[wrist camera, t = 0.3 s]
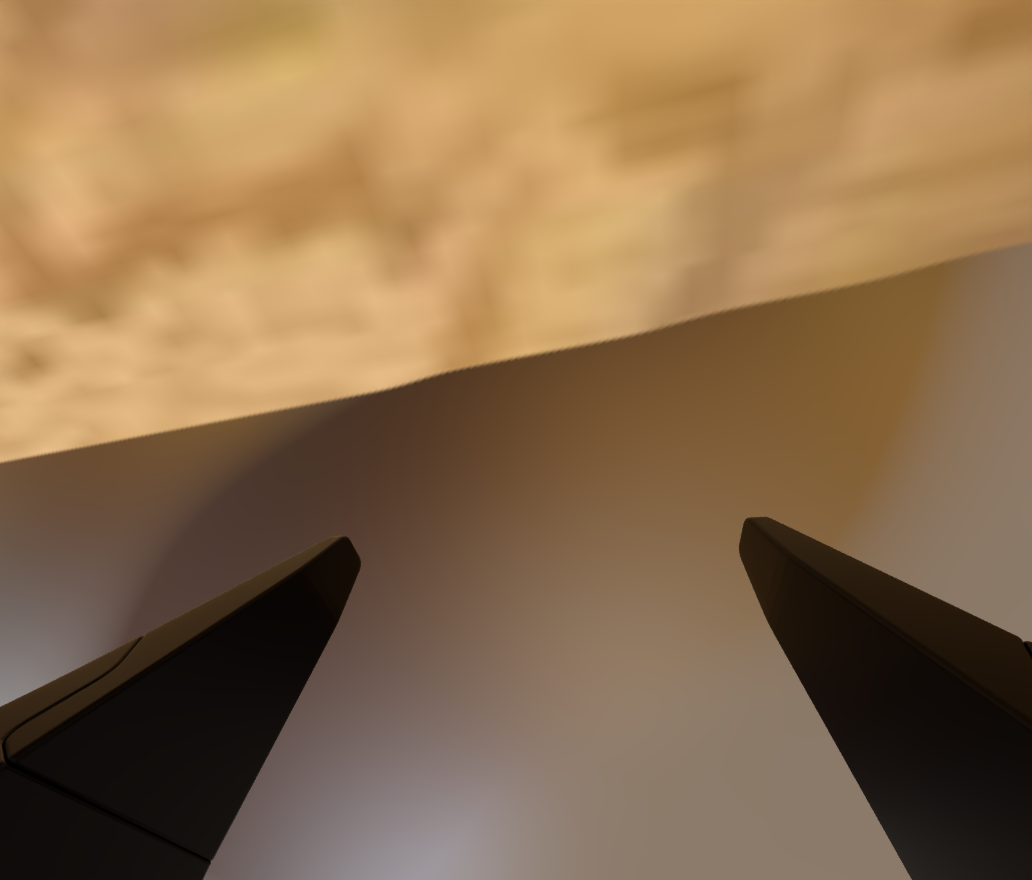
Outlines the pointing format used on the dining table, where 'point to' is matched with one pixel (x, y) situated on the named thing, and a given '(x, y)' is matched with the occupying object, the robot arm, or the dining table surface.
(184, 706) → the robot arm
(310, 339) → the dining table surface
